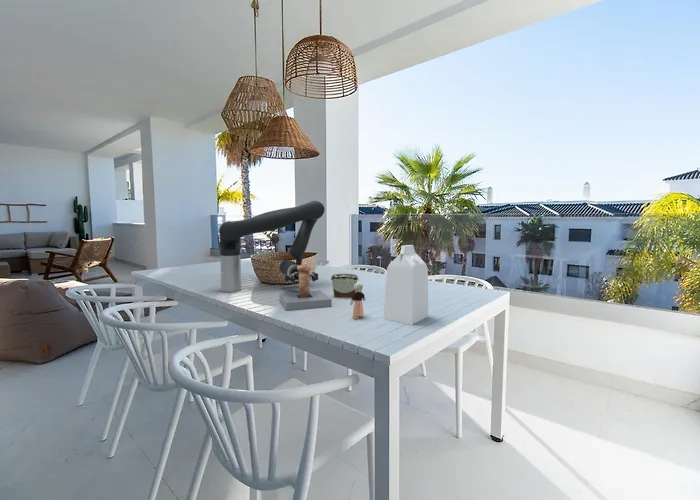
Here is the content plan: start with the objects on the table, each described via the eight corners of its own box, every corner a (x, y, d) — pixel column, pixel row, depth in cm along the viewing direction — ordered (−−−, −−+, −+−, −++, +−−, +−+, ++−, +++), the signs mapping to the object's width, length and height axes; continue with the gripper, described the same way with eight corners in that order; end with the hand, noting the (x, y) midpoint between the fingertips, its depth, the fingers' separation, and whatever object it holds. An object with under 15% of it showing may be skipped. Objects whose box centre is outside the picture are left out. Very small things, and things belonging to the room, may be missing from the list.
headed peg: (299, 305, 143) (298, 267, 141) (296, 302, 148) (295, 265, 146) (312, 304, 145) (312, 266, 143) (309, 301, 150) (309, 264, 148)
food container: (359, 295, 161) (359, 273, 160) (358, 298, 155) (358, 276, 154) (332, 294, 162) (332, 273, 161) (330, 297, 156) (330, 275, 155)
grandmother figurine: (357, 320, 122) (357, 284, 121) (348, 318, 124) (348, 283, 123) (368, 315, 129) (368, 281, 128) (359, 313, 131) (359, 280, 130)
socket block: (286, 310, 135) (286, 302, 134) (279, 299, 152) (279, 293, 151) (331, 306, 141) (331, 299, 141) (319, 296, 158) (319, 290, 157)
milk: (401, 311, 135) (402, 243, 132) (428, 316, 127) (430, 245, 125) (383, 318, 125) (384, 245, 123) (411, 324, 118) (413, 247, 116)
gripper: (280, 266, 157) (286, 271, 142) (312, 264, 162) (321, 269, 147) (281, 282, 158) (287, 289, 143) (312, 280, 162) (321, 287, 147)
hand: (304, 279), depth 145 cm, fingers open, 8 cm apart
